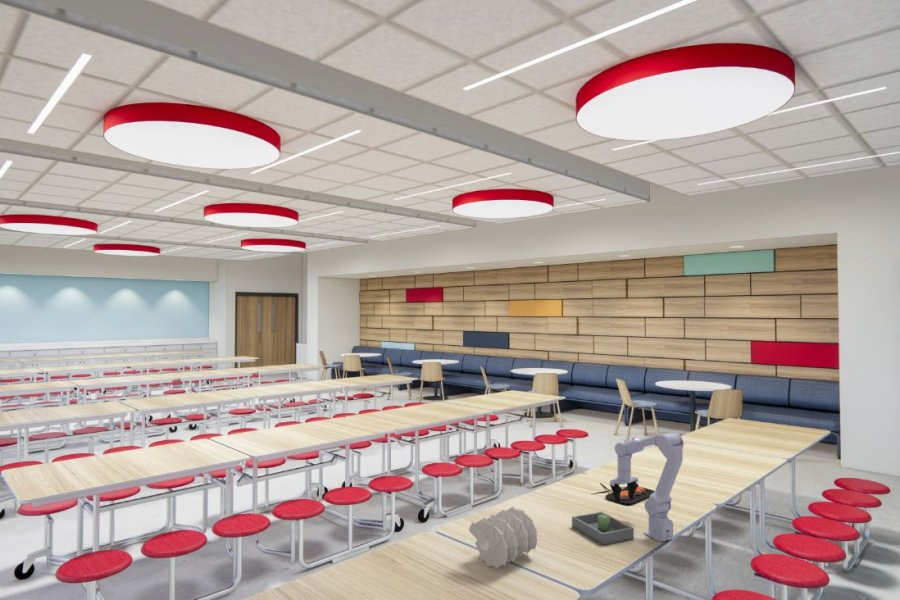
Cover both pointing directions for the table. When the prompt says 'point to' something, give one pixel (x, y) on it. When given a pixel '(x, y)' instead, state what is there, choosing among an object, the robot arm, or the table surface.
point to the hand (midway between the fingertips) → (624, 499)
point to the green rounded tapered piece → (603, 523)
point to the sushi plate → (624, 498)
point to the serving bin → (590, 528)
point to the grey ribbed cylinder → (504, 536)
